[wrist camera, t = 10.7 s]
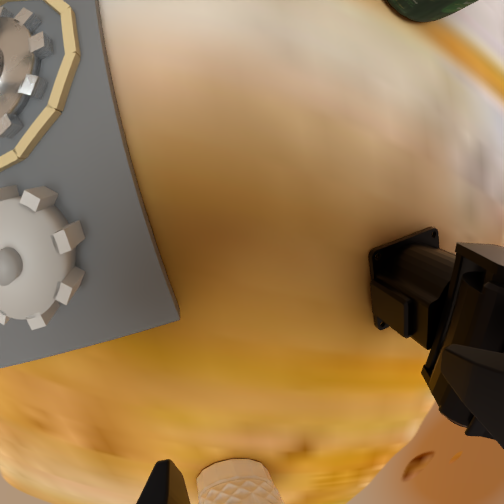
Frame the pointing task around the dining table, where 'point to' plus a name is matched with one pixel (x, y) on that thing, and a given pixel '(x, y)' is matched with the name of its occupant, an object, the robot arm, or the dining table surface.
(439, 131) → the dining table surface
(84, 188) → the carrier plate
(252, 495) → the white cup
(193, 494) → the dining table surface
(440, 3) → the coffee jar
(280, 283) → the dining table surface
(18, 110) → the gear
